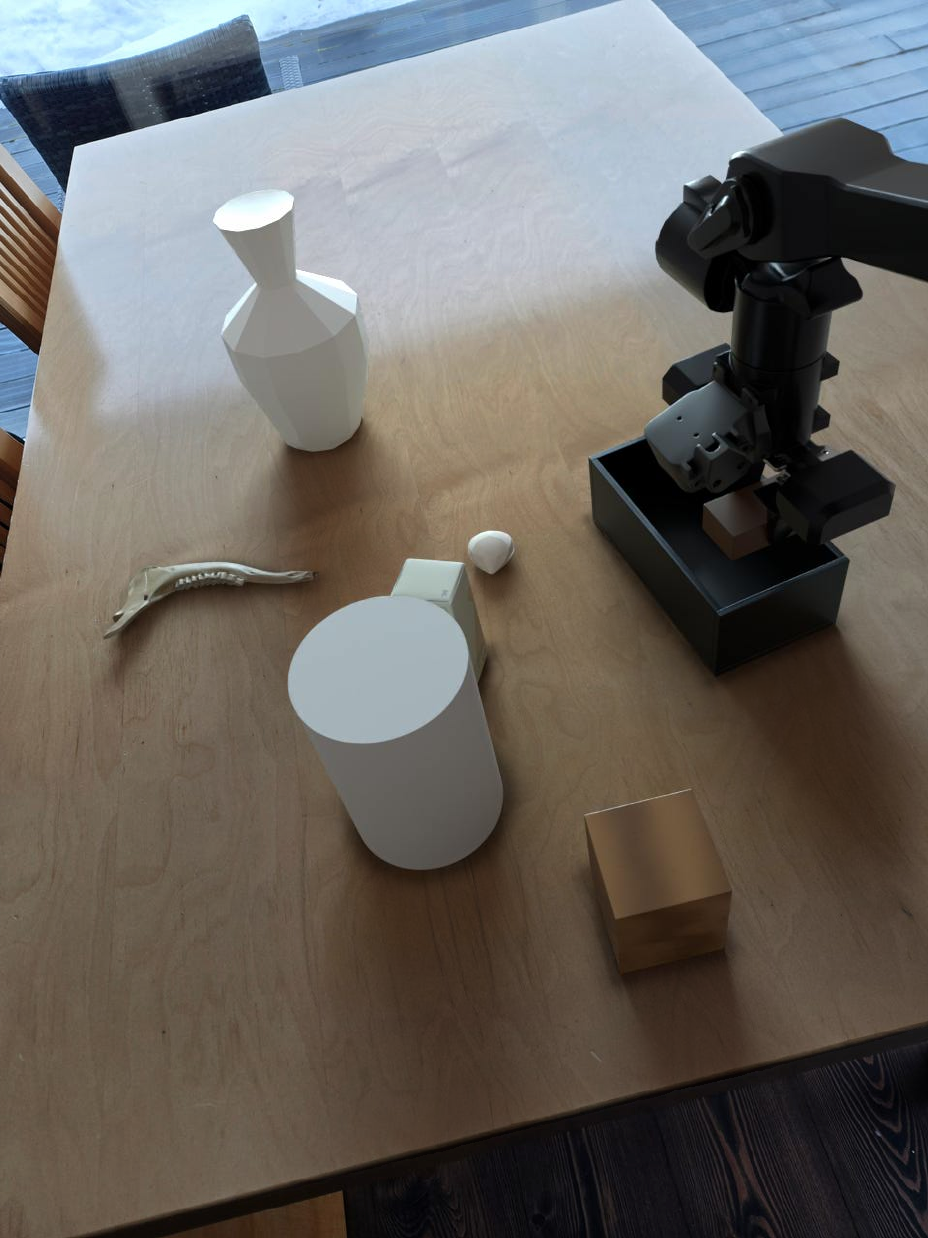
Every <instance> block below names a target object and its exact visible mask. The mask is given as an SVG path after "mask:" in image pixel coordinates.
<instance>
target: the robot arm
mask: <svg viewBox="0 0 928 1238" xmlns="http://www.w3.org/2000/svg"><path fill="white" fill-rule="evenodd" d="M682 190H683V191H682V201H681V202H680V203H679V204H678V205H677V206H676V207H675V208H674V209H673V210H672V211H671V212H670V214H669V215H668V216H667V218H666V219H665V221H664V222H663V225H662V226H661V229H660V231H659V234H658V237H657V239H656V240H655V244H654V254H655V259H656V262H657V264H658V266H659V268H660V269H661V270H662V271H663V272H664V273H665V274H666V275H668V277H670V278H671V279H672V280H673V281H675V282H676V283H677V284H679V286H681V287H682V288H683V289H684V290H685V291H687V292H688V293H689V294H690V295H691V296H693V297H694V298H695V299H697V301H699V302H700V303H701V304H703V306H705V307H706V308H707V309H708V310H710V311H712V312H715V313H720V314H726V313H732V320H731V332H730V333H731V335H730V344H729V343H727V342H724V343H722V344H719V345H716V346H714V347H711V348H709V349H706V350H704V351H701V352H699V353H698V352H697V353H696V354H694V355H691V356H688V357H686V358H683V359H681V360H678V361H675V362H673V363H672V364H671V366H670V367H669V368H668V370H667V371H666V372H665V374H664V375H663V377H662V379H661V381H662V382H661V397H662V398H661V399H662V400H663V401H664V402H665V403H666V404H667V405H668V407H667V408H666V409H665V410H664V411H662V412H661V413H659V414H657V416H655V417H654V418H652V419H651V420H650V421H648V423H647V424H646V425H645V427H644V429H643V435H645V437H646V439H647V441H648V443H649V445H650V447H651V449H652V451H653V453H654V455H655V457H656V459H657V461H658V463H659V464H660V466H661V467H662V468H664V469H665V471H666V472H667V473H668V474H669V475H670V476H671V477H672V478H673V479H674V480H675V481H676V483H677V484H678V485H679V487H680V488H681V489H682V490H683V491H686V492H689V493H692V492H697V491H699V490H701V489H703V488H704V487H706V488H707V489H708V490H709V491H710V492H711V493H719V492H721V491H723V490H724V489H726V488H727V487H728V488H729V491H730V493H732V492H735V491H737V490H739V489H742V488H744V487H747V486H749V485H751V484H754V483H756V482H759V481H760V480H761V477H762V474H763V473H764V471H765V468H766V466H768V467H769V468H770V469H771V470H772V471H773V472H774V473H780V475H781V476H779V477H777V478H776V481H775V482H772V483H770V484H767V485H765V486H763V487H760V488H758V489H755V490H753V491H751V492H752V494H753V495H754V496H755V497H756V498H757V499H758V500H759V501H760V502H761V503H762V504H763V505H764V506H765V507H766V508H767V537H768V543H769V544H770V545H771V546H773V545H776V544H778V543H781V542H782V541H784V540H785V539H786V538H787V536H788V535H789V534H790V533H791V532H792V531H793V530H794V531H795V532H796V533H797V534H798V535H799V536H800V537H801V538H802V539H803V540H804V541H805V542H806V543H809V544H816V545H821V544H823V543H825V542H828V541H832V540H835V539H837V538H839V537H842V536H843V535H846V534H849V533H850V532H851V533H852V532H853V531H855V530H858V529H860V528H862V527H865V526H867V525H870V524H871V523H875V522H876V521H879V520H881V519H883V518H886V517H888V516H890V513H891V509H892V505H893V501H894V496H895V492H896V488H897V485H896V483H894V482H893V481H892V480H891V479H889V477H887V475H885V474H884V473H883V472H881V471H880V470H879V469H878V468H876V466H875V465H873V464H872V463H871V462H870V461H869V460H867V459H866V457H864V456H863V455H861V454H860V453H858V452H857V451H855V450H853V449H848V450H846V451H843V452H841V453H840V452H839V451H838V450H837V449H835V447H833V446H831V445H826V444H821V445H819V444H817V443H816V442H815V441H813V440H812V439H811V438H812V435H814V434H816V433H818V432H821V431H823V430H825V429H828V428H830V422H831V416H832V414H830V413H829V412H828V411H827V410H826V409H824V408H823V407H822V406H821V405H820V404H819V401H820V395H821V390H822V389H821V387H822V383H823V382H824V381H826V380H829V379H831V378H834V377H836V376H838V375H839V370H840V364H841V360H839V359H838V358H836V357H835V356H834V355H833V354H831V353H830V352H828V351H827V349H828V342H829V336H830V330H831V324H832V317H833V312H834V311H838V310H840V309H841V308H844V307H848V306H849V305H852V304H854V303H857V302H859V301H861V300H863V297H864V291H863V289H862V287H861V285H860V283H859V280H858V278H857V277H856V276H854V275H853V274H852V273H850V272H849V270H848V269H847V268H846V266H845V264H844V262H843V259H848V260H850V261H854V262H857V263H860V264H863V265H867V266H869V267H874V268H876V269H881V270H883V271H887V272H889V273H893V274H896V275H899V276H902V277H906V278H909V279H912V280H915V281H919V282H922V283H925V284H928V163H924V162H923V163H922V162H916V161H912V160H907V159H905V158H903V157H900V156H898V155H896V154H894V151H893V149H892V147H891V144H890V141H889V140H888V138H887V137H886V136H885V135H884V134H883V133H881V132H878V131H876V130H874V129H871V128H870V127H866V126H864V125H862V124H859V123H858V122H855V121H853V120H850V119H847V118H845V117H834V118H829V119H826V120H824V121H821V122H818V123H815V124H813V125H810V126H807V127H804V128H802V129H798V130H796V131H792V132H790V133H787V134H785V135H782V136H780V137H776V138H773V139H771V140H768V141H765V142H762V143H760V144H757V145H754V146H751V147H749V148H745V149H743V150H740V151H738V152H737V151H736V153H734V154H732V155H731V156H730V158H729V161H728V167H727V172H726V176H725V180H724V181H723V182H722V181H720V180H719V179H717V178H716V177H715V176H713V175H711V174H710V175H706V176H704V177H700V178H698V179H695V180H693V181H690V182H687V183H684V185H683V186H682ZM763 475H764V474H763Z"/></svg>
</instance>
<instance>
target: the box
mask: <svg viewBox="0 0 928 1238" xmlns="http://www.w3.org/2000/svg"><path fill="white" fill-rule="evenodd" d="M389 596H408V597H414V598H419V599H422V600H425V601H428V602H430V603H433V604H435V605H437V606H438V607H440V608H442V609H443V610H445V611H446V612H447V613H448V614H449V615H451V616H452V617H453V618H454V620H455V621H456V622H457V623H458V625H459V626H460V628H461V630H462V631H463V634H464V636H465V639H466V642H467V646H468V650H469V654H470V658H471V662H472V666H473V670H474V674H475V678H476V682H477V684H478V683H479V681H480V678H481V675H482V672H483V669H484V666H485V662H486V659H487V655H488V652H489V651H488V646H487V643H486V639H485V635H484V631H483V627H482V624H481V620H480V616H479V612H478V609H477V604H476V601H475V598H474V594H473V589H472V586H471V582H470V579H469V574H468V572H467V568H466V564H465V562H459V561H458V562H457V561H447V560H437V559H436V560H435V559H420V558H407V559H406V560H405V562H404V564H403V566H402V568H401V571H400V572H399V575H398V577H397V579H396V581H395V584H394V585H393V588H392V591H391V593H390V595H389Z"/></svg>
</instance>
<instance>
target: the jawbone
mask: <svg viewBox="0 0 928 1238" xmlns="http://www.w3.org/2000/svg"><path fill="white" fill-rule="evenodd" d="M319 573H320V572H319V571H317V570H292V571H286V572H285V571H284V572H272V571H266V570H261V569H258V568H254V567H252V566H248V565H245V564H244V565H243V564H240V563H235V562H227V561H210V562H209V561H206V562H194V563H184V564H176V565H170V566H165V567H160V566H157V565H151V566H148V567H143V568H142V569H141V570H139V572H137V573H136V574H135V575H134V576H133V577H132V578H131V580H130V582H129V584H128V588H127V592H126V593H127V595H126V600H125V603H124V606H123V607H122V608H121V609H120V610H119V611H117V612H116V613H114V614H113V615H112V620H113V622H114V624H113V625H112V626H110V627H109V628H107V630H105V634H103V636H102V639H103V640H109V639H111V638H113V637H114V636H116V635H118V634H119V633H120V632H122V631H123V630H124V629H125V628H126V627H128V626H129V625H130V624H131V623H132V621H134V620H135V619H136V618H137V617H138V616H139V615H140V614H141V613H142V612H144V610H146V609H147V608H149V607H150V606H152V605H154V604H156V603H157V602H159V601H161V600H164V599H165V598H166V597H167V596H169V595H170V594H172V593H174V592H177V591H181V592H182V591H184V590H185V589H186V590H187V591H188V590H190V588H191V587H192V588H194V589H196V588H197V587H200V588H202V587H203V586H209V585H211V586H214V585H216V584H217V585H218V584H221V585H225V584H226V585H229V586H232V585H235V586H237V587H240V586H241V587H242V586H243V585H244V584H245V583H256V584H269V585H271V584H272V585H273V584H274V585H275V584H279V585H280V584H290V583H296V584H297V583H299V584H300V583H304V582H311V581H314V580H315V579H316V576H317V575H319Z"/></svg>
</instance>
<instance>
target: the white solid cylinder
mask: <svg viewBox="0 0 928 1238" xmlns="http://www.w3.org/2000/svg"><path fill="white" fill-rule="evenodd" d="M287 690H288V696H289V700H290V703H291V706H292V707H293V708H294V712H295V713H296V715H297V717H298V719H299V721H300V724H301V725H302V727H303V728H304V730H305V732H306V734H307V736H308V738H309V740H310V742H311V744H312V746H313V748H314V750H315V751H316V753H317V755H318V757H319V759H320V761H321V763H322V765H323V767H324V769H325V771H326V772H327V775H328V776H329V778H330V780H331V782H332V784H333V787H334V788H335V790H336V792H337V794H338V796H339V797H340V799H341V801H342V803H343V805H344V807H345V809H346V811H347V813H348V815H349V817H350V819H351V820H352V823H353V824H354V826H355V828H356V830H357V832H358V834H359V836H360V839H361V840H362V841H363V843H364V844H365V845H366V847H367V848H368V849H369V850H370V851H371V852H372V853H373V854H374V855H375V856H376V857H378V858H379V859H380V860H383V862H386V863H387V864H390V865H393V866H394V867H395V866H396V867H397V868H402V869H407V870H413V871H415V870H416V871H425V870H434V869H439V868H440V869H441V868H443V867H447V866H450V865H452V864H455V863H457V862H460V861H461V860H462V859H465V858H466V857H467V856H469V855H471V854H472V853H473V852H475V851H476V850H477V849H478V848H479V847H480V846H481V845H482V844H484V842H485V841H486V840H487V839H488V837H489V836H490V835H491V833H492V832H493V830H494V829H495V827H496V826H497V823H498V820H499V818H500V816H501V812H502V808H503V803H504V788H503V782H502V778H501V774H500V769H499V766H498V761H497V757H496V754H495V750H494V745H493V741H492V737H491V734H490V730H489V726H488V722H487V717H486V714H485V710H484V707H483V701H482V698H481V694H480V690H479V686H478V683H477V682H476V678H475V674H474V670H473V666H472V662H471V658H470V654H469V650H468V646H467V642H466V639H465V636H464V634H463V631H462V630H461V628H460V626H459V625H458V623H457V622H456V621H455V620H454V618H453V617H452V616H451V615H449V614H448V613H447V612H446V611H445V610H443V609H442V608H440V607H438V606H437V605H435V604H433V603H430V602H428V601H425V600H422V599H419V598H414V597H408V596H390V595H380V596H373V597H370V598H365V599H361V600H358V601H355V602H353V603H350V604H347V605H346V606H344V607H341V608H339V609H337V610H336V611H334V612H332V613H330V614H329V615H327V616H326V617H325V618H324V619H322V620H321V621H319V622H318V623H317V624H316V625H315V626H314V627H313V628H312V629H311V630H310V631H309V632H308V633H307V635H306V636H305V637H304V638H303V640H302V641H300V644H299V645H298V647H297V649H296V650H295V652H294V655H293V657H292V659H291V661H290V665H289V669H288V675H287Z"/></svg>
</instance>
